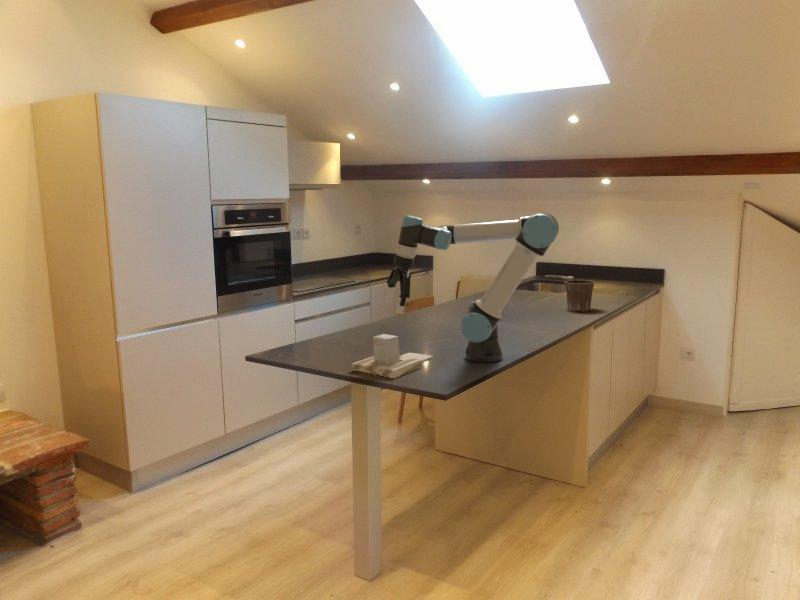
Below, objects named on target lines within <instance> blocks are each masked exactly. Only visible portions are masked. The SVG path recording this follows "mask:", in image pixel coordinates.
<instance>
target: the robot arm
mask: <svg viewBox="0 0 800 600" xmlns="http://www.w3.org/2000/svg"><path fill="white" fill-rule="evenodd" d="M559 226H560V225H559V223H558V220H557V219H556V218H555V217H554V216H553V215H552V214H550V213H547V212H540V213H535V214H533V215H528V216H526V215H525V216H521V217H520V218H519V219H514V220H512V219H511V220H500V221H488V222H477V223H476V222H475V223H473V222H472V223H463V224H451V225H449V224H448V225H440V226H430V225H426V224H424V220H423V218H421V217H418V216H413V215H404V217H403V220H402V224H401V226H400V231H399V236H398V242H397V246H396V247H395V250H396V251H395V253H396V254H395V256H394V259H393V260H394V261H393V265H392V266H393V267H392V269H391V271H390V273H389V276H388V278H387V280H386V284H387V291H386V294H385V295H386V296H385V300H384V303H385V304H393V298H394V295H395V294H394V293H395V290H396V287H397V286H396V285H397V284H398V282H399V288H400V290H399V291H400V294H399V295H398V302H397V305H396V306H397V307H396V310H395V314H398V315H399V314H400V315H403V314H404V311H405V307H406V302H407V299H410V297H411V277H412V272H410V271H409V269H412V268H413V266H414V263H415V257H416V254H417V249H418V245H422V246H427V247H430V248H433V249H437V250H441V251H447V250H448V249H449V248H450V245H456V244H457V245H461V244H475V243H477V244H478V243H487V242H488V243H489V242H502V241H515V244H516V245H515V247H514V248H513V250H512V251H511V253H510V254H509V256H508V257H507V259H506V261H505V262H504V264H503V265H502V267H501V268H500V270H499V271H498V273H497V274H496V276H495V277H494V279H493V280H492V282H491V283H490V285H489V286H488V288H487V290H486V291H485V293H484V295H483V296H482V297H481V298H480V299H476V300H475V301H470V302H469V303H468V308H467V309H468V312H467V313H466V314H465V315H464V316H463V317H462V319H461V321H460V331H461V334H462V336H463V337H464V338H465V339H466V340H467V341H468V342H467V345H466V348H465V352H464V358H465V360H467V361H470V362H473V363H493V362H499V361H502V360H503V359H504V351H503V350H502V347H501V343H500V340H499V322H500V321H501V319H502V310H503V309H504V307H505V306H506V304H507V303H508V302H509V299H510V298H511V297H512V296H513V293H514V292H515V291H516V289H517V288H518V287H519V285H520V283H521V282H522V280H523V279H524V277H525V276H526V274H527V273H528V271H529V270H530V268H531V267H532V265H533V264H534V262H535V261H536V260H537V259H538V258H542V257H544V255H545V253H546V252H547V251H548V249H549V248H550V246H551V245H552V244H553V242H554V241H555V240H556V238H557V236H558V233H559Z"/></svg>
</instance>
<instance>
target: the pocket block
mask: <svg viewBox="0 0 800 600" xmlns="http://www.w3.org/2000/svg"><path fill="white" fill-rule="evenodd" d="M399 357H400V362H398V363H395V364H393V365H390V366H384V365H378V364H374V355H373V356H369V357H367V358H364V359H362V360H358V361H355V362H353V363H351V369H352V368H353V369H357V370H361V371H364V372H368V373H372V374H376V375H380V376H379V377H381V376H384V377H383V378H387V377H389V378H388V379H392V378H394V379H397V378H399V377H402V376H404V375H406V373H407V374H409V373H411V372H413V371H417V370H418V369H421V368H422V367H423V366H422V365H423V364H422V363H423V362H422V360H420V359H414V358H407V357H401V355H399ZM376 375H375V376H376ZM401 375H402V376H401ZM396 377H397V378H396Z"/></svg>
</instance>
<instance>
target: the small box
mask: <svg viewBox="0 0 800 600" xmlns="http://www.w3.org/2000/svg"><path fill="white" fill-rule="evenodd" d="M372 338H373V339H372V342H373V344H372V345H373V356H374V364H378V365H384V366H390V365H393V364H395V363H398V362H400V357H399V356H400V340H399V339H400V337H399V336H398V335H393V334H387V333H382V334H378V335H375V336H372Z"/></svg>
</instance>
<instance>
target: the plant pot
mask: <svg viewBox="0 0 800 600" xmlns="http://www.w3.org/2000/svg"><path fill="white" fill-rule="evenodd" d="M595 283H596V282H595V281H594V280H589V279H588V280H587V279H586V280H585V279H569V280H565V281H564V284H565V285H564V287H565V291H566V305H567V310H568V312H569V311H570V312H577V313H578V312H581V313H584V312H589V311H591V307H592V306H591V305H592V298H593V290H594V285H595Z"/></svg>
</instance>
